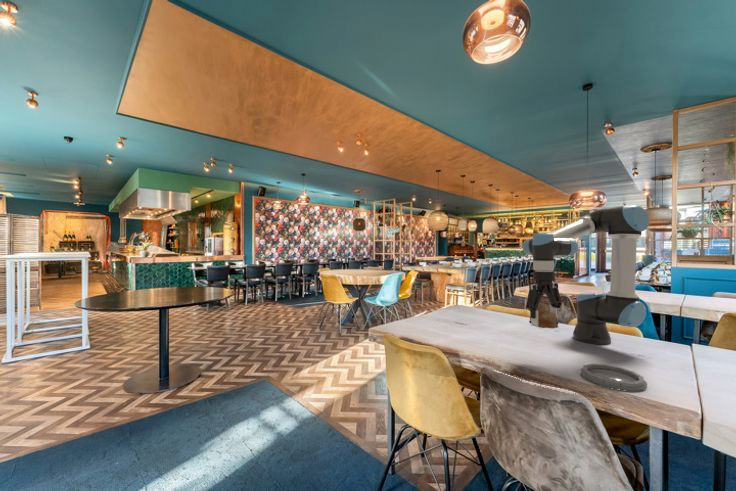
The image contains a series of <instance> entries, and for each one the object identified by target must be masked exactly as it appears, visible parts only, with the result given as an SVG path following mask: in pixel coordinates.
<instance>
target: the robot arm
mask: <svg viewBox="0 0 736 491" xmlns="http://www.w3.org/2000/svg"><path fill="white" fill-rule="evenodd" d="M647 212H648V211H646V210H645V208H644V207H642V206H641V205H635V204H633V205H622V206H616V207H615V206H614V207H607V208H606V207H605V208H604V207H603V208H600V209H597V210H594V211H591V212H590V213H589V212H588V213H587V214H584V215H581V216H579V217H578V218H577V219H575V221H574V222H572V223H568V224H566V225H564V226H562V227H559V228H557V229H555V230H553V231H550V232H548V233H546V232H545V233H534V234H533V236H532V238H527V239H525V240H524V241H523V243H522V251H523V253H525V254H526V255H530V256H532V263H533V264H532V265H533V266H532V267H533V268H532V270H534V271H532V276H533V280H534V281H535V282H534V284H529V285H528V289H529V291H528V294H527V300H526V305H525V308H526V309H527V310H529V314H530V315H529V318H530V317H531V323H530V326H532V327H535V328H539V327H538V311H539V310H537V309H538V306H539V304H540V302H541V299H542V297H543V296H544V295H546V297H547V299H548V302H549V304H550V305H551V306H550V307H549V312H551V313H553V314H554V315H555V316H556V317H557V319H558V320H559V318H558V316H559V309H561V307H562V305H563V303H562V298H561V294H560V290H559V283H558V282H553V281H555V272H554V270H555V257H562V256H563V257H569V256H573V255H575V254H576V253H577V252H578V249H579V244H578V241H577V240H576V239H578V238H581V237H583V236H590V235H593V234H599V233H600V234H601V233H607V237H609V238H610V239H611V256H610V257H611V258H610V259H611V260H610V261H611V262H610V283H609V284H610V286H609V287H610V289H609V291H608V292H606V293H603V292H602V293H601V292H583V293H579V294H577V296H576V324H575V327H574V330H573V332H572V337H573V339H575V340H577V341H580V342H582V343H583V342H584V343H588V344H593V345H610V344H611V343H612V337H611V334H610V333H609V329H608V327H607V323H609V324H612V325H613V324H614V325H617V326H618V325H619V326H621V327H627V328H637V327H639V326H640V325H641V324H642V323H643V322H644V320H645V318H646V316H647V307H646V305H645V304H644V303H643V302H641V301H640V296H638V295H637V294H636V275H637V274H636V269H637V268H636V266H637V241H638V239H639V238H640V237H641V236H642V232H644V231H646V230H647V229H648V227H649V226H650V217H649V214H648V213H647Z"/></svg>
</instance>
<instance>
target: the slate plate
mask: <svg viewBox="0 0 736 491" xmlns="http://www.w3.org/2000/svg"><path fill="white" fill-rule="evenodd" d="M580 376H581V377H582V378H583V379H584V380H586V381H588V382H591V383H592V382H593V383H592V384H595V385H597V384H598V386H600V385H602V386H601V387H603V386H605V387H604V388H607V387H609V388H608V389H611V388H613V389H612V390H615V389H620V390H619V391H621V390H626V391H625V392H630V391H638V392H641V391H640V390H644V389H646V388H647V389H648V382H647V381H646V380H645V378H644V376H642V375H640V374H639V373H637V372H636V371H632V370H629V369H626V368H623V367H620V366H615V365H611V364H606V363H604V364H603V363H589V364H583V366H582V367H581V369H580ZM647 389H646V390H647ZM644 391H645V390H644Z"/></svg>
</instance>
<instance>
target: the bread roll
mask: <svg viewBox="0 0 736 491" xmlns="http://www.w3.org/2000/svg"><path fill="white" fill-rule="evenodd" d="M537 311H538V327H537V328H541V329H558V328H559V318H558V319H557V317H556V316H555V315H554V314H553V313H551V312H550V310H537ZM528 322H529V324H531V317H530V316H529V321H528Z"/></svg>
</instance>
